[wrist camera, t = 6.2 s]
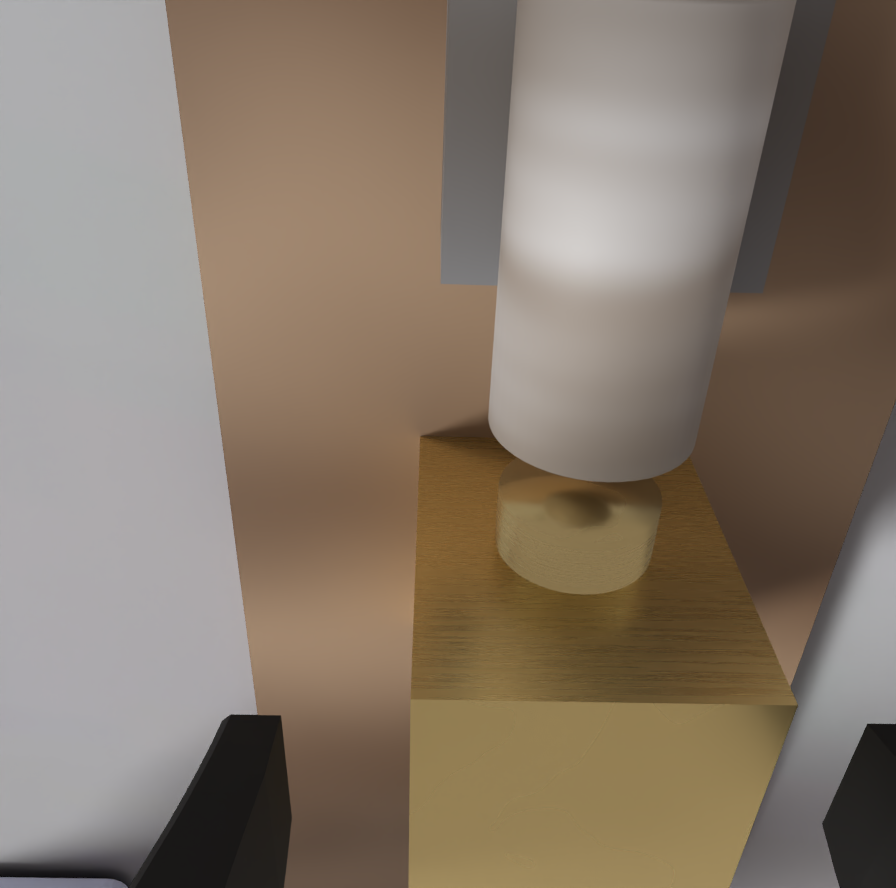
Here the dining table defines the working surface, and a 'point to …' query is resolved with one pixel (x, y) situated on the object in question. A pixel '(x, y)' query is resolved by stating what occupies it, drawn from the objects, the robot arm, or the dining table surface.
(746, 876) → the dining table surface
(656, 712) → the block
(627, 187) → the shaft stand
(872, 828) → the robot arm
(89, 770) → the dining table surface
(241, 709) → the dining table surface
